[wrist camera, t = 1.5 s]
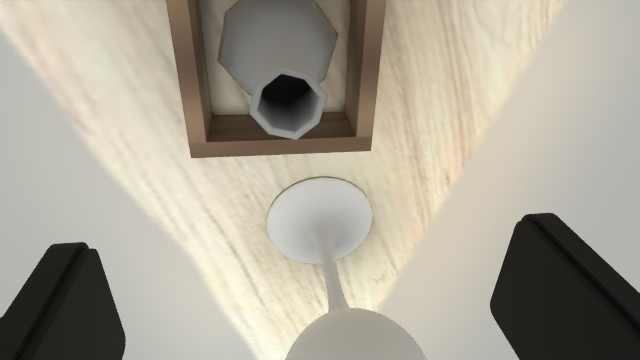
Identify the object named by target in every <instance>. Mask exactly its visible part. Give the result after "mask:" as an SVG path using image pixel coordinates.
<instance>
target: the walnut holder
mask: <svg viewBox="0 0 640 360" xmlns="http://www.w3.org/2000/svg"><path fill="white" fill-rule="evenodd" d="M166 3H167V9H168V16H169V22H170V28H171V34H172V41H173V47H174V53H175V60H176V66H177V72H178V79H179V85H180V91H181V97H182V104H183V110H184V116H185V123H186V129H187V135H188V141H189V148H190V154H191V158H206V157H230V156H255V155H280V154H305V153H329V152H354V151H371V143H372V134H373V124H374V114H375V104H376V94H377V84H378V74H379V64H380V54H381V45H382V35H383V25H384V15H385V5H386V0H351V12H350V29H349V45H348V62H347V79H346V95H345V112H331V113H322V115H321V118H320V121H319V123H318V124H317V125H316V126H314V127H313V128H312V129H310V130H309V131H308V132H306V133H305V134H304V135H302V136H301V137H300V138H298V139H297V140H295V139H290V138H285V137H280V136H276V135H271V134H268V133H267V132H266V131H265V130H264V129H263V128H262V126H261V125H260V124H259V123H258V122H257V121H256V120H255V119H254V118H253V117H252V116H251V115H223V116H212V109H211V100H210V92H209V84H208V76H207V67H206V59H205V51H204V43H203V34H202V26H201V18H200V9H199V1H198V0H166Z"/></svg>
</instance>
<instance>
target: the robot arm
mask: <svg viewBox="0 0 640 360" xmlns="http://www.w3.org/2000/svg"><path fill="white" fill-rule="evenodd" d="M490 309H491V313H492V315H493V317H494V319H495V320H496V322H497V324H498V325H499V327H500V329H501V330H502V332H503V333H504V335H505V337H506V338H507V340H508V341H509V343H510V345H511V346H512V348H513V349H514V351H515V353H516V354H517V356H518V358H519V359H520V360H640V293H639V292H637V290H636V289H635V288H633V287H632V286H631V285H630V284H629V283H628V282H627V281H626V280H625V279H624V278H623V277H622V276H621V275H620V274H618V273H617V272H616V271H615V270H614V269H613V268H612V267H611V266H610V265H609V264H608V263H607V262H606V261H605V260H603V259H602V258H601V257H600V256H599V255H598V254H597V253H596V252H595V251H594V250H593V249H592V248H591V247H590V246H589V245H587V244H586V243H585V242H584V241H583V240H582V239H581V238H580V237H579V236H578V235H577V234H576V233H575V232H573V230H571V229H570V228H569V227H568V226H567V225H566V224H565V223H564V222H563V221H561V219H560V218H559V217H557V216H556V215H554V214H553V213H539V214H528V215H525V216H524V217H523V218H522V220H521V221H519V222H518V223H517V224H516V226H515V228H514V232H513V235H512V237H511V240H510V244H509V246H508V250H507V253H506V255H505V259H504V262H503V265H502V268H501V271H500V274H499V277H498V280H497V283H496V286H495V289H494V292H493V295H492V298H491V301H490ZM125 341H126V340H125V333H124V330H123V327H122V324H121V321H120V318H119V315H118V312H117V309H116V306H115V303H114V300H113V297H112V294H111V290H110V288H109V285H108V281H107V279H106V275H105V272H104V269H103V266H102V263H101V260H100V258H99V254H98V252H97V250H96V249H89V247H88V245H87V244H86V243H84V242H77V243H62V244H53V245H51V246H50V247H49V248H48V249H47V251H46V253H45V254H44V256H43V257H42V259H41V260H40V262H39V263H38V265H37V266H36V268H35V269H34V271H33V272H32V274H31V275H30V277H29V278H28V280H27V281H26V283H25V284H24V286H23V287H22V289H21V290H20V292H19V293H18V295H17V296H16V298H15V299H14V301H13V302H12V304H11V305H10V307H9V308H8V310H7V311H6V313H5V314H4V316H3V317H1V318H0V360H122V357H123V354H124V350H125Z"/></svg>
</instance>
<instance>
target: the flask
mask: <svg viewBox="0 0 640 360" xmlns="http://www.w3.org/2000/svg"><path fill="white" fill-rule="evenodd" d="M337 37H338V34H337V32H336V31H335V29H334V28H333V26H332V25H331V24H330V22H329V21H328V19H327V18H326V16H325V15H324V13H323V12H322V11H321V9H320V8H319V6H318V5H317V3H316V2H315V1H314V0H240V1H239V2H238V3H236V4H235V5H234V6H233V7H232V8H231V9H230V10H228V11H227V12H226V13H225V19H224V25H223V30H222V36H221V42H220V48H219V54H218V60H217V61H218V62H219V63H220V64H221V65H222V66H223V67H224V68H225V69H226V70H227V72H228V73H229V74H230V75H231V76H232V77H233V78H234V79H235V80H236V81H237V83H238V84H239V85H240V86H241V87H242V88H243V89H244V90H245V91H246V92H247V94H248V95H250V96H252V99H251V104H250V108H249V114H250V115H251V116H252V117H253V118H254V119H255V120H256V121H257V122H258V123H259V124H260V125H261V126H262V128H263V129H264V130H265V131H266V132H267V133H268V134H271V135H276V136H280V137H285V138H290V139H295V140H297V139H298V138H300V137H301V136H302V135H304V134H305V133H306V132H308V131H309V130H310V129H312V128H313V127H314V126H316V125H317V124H318V123H319V121H320V118H321V115H322V112H323V109H324V105H325V102H326V99H327V94H326V93H325V91H324V90H323V89H322V87H321V86H320V85H319V83H320V82H322V81H323V80H324V79H325V77H326V73H327V70H328V67H329V63H330V60H331V57H332V53H333V50H334V47H335V43H336V40H337Z"/></svg>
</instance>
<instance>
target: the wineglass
mask: <svg viewBox="0 0 640 360" xmlns="http://www.w3.org/2000/svg"><path fill="white" fill-rule="evenodd" d="M372 218H373V214H372V208H371V205H370V202H369V200H368V198H367V197H366V196H365V194H364V193H363V192H362V191H361V190H360V189H359V188H357V187H356V186H354V185H353V184H351V183H349V182H346V181H343V180H340V179H335V178H313V179H309V180H305V181H302V182H299V183H297V184H295V185H293V186H291V187H290V188H288V189H287V190H285V191H284V192H283V193H282V194H281V195H279V196H278V198H277V199H276V200H275V201H274V203H273V204H272V206H271V207H270V210H269V212H268V215H267V220H266V230H267V235H268V237H269V240H270V242H271V243H272V245H273V246H274V247H275V248H276V249H277V250H278V251H279V252H280V253H281V254H283V255H284V256H286V257H288V258H290V259H292V260H295V261H298V262H302V263H309V264H319V263H322V267H323V271H324V276H325V281H326V286H327V293H328V303H329V311H328V313H327V314H325V315H323V316H321V317H319V318H318V319H316V320H315V321H314V322H312V323H311V324H310V325H309V326H308V327H307V328H306V329H305V330H304V331H303V332H302V333H301V334H300V335H299V336H298V338H297V339H296V341H295V342H294V344H293V345H292V347H291V349H290V351H289V353H288V354H287V357H286V359H285V360H427V359H426V357H425V355H424V354H423V352H422V350H421V348H420V347H419V345H418V344H417V343H416V341H415V340H414V339H413V337H411V335H410V334H409V333H408V332H407V331H406V330H405V329H404V328H402V327H401V326H400V325H399V324H397V323H396V322H394V321H393V320H391V319H389V318H387V317H386V316H384V315H381V314H379V313H376V312H374V311H370V310H366V309H360V308H349V306H348V304H347V302H346V300H345V297H344V294H343V291H342V288H341V284H340V280H339V276H338V272H337V267H336V262H335V260H337V259H340V258H342V257H344V256H346V255H348V254H349V253H351V252H352V251H354V250H355V249H356V248H357V247H358V246H359V245H360V244H361V243H362V242H363V241H364V239H365V238H366V237H367V235H368V233H369V231H370V228H371V225H372Z"/></svg>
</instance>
